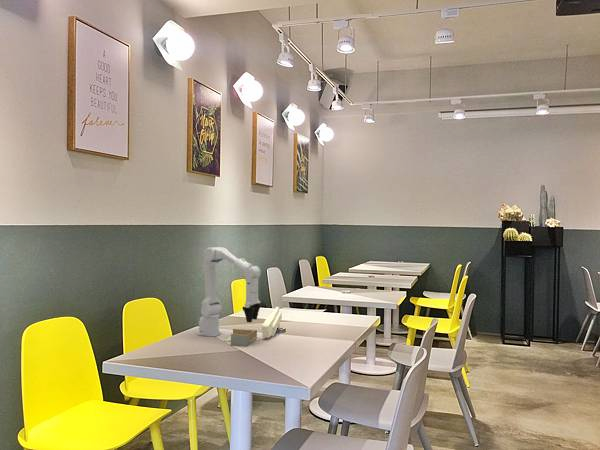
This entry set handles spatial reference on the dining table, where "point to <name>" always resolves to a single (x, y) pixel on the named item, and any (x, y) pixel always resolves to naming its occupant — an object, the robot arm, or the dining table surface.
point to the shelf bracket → (271, 323)
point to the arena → (251, 334)
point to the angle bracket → (240, 340)
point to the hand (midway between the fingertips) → (251, 320)
